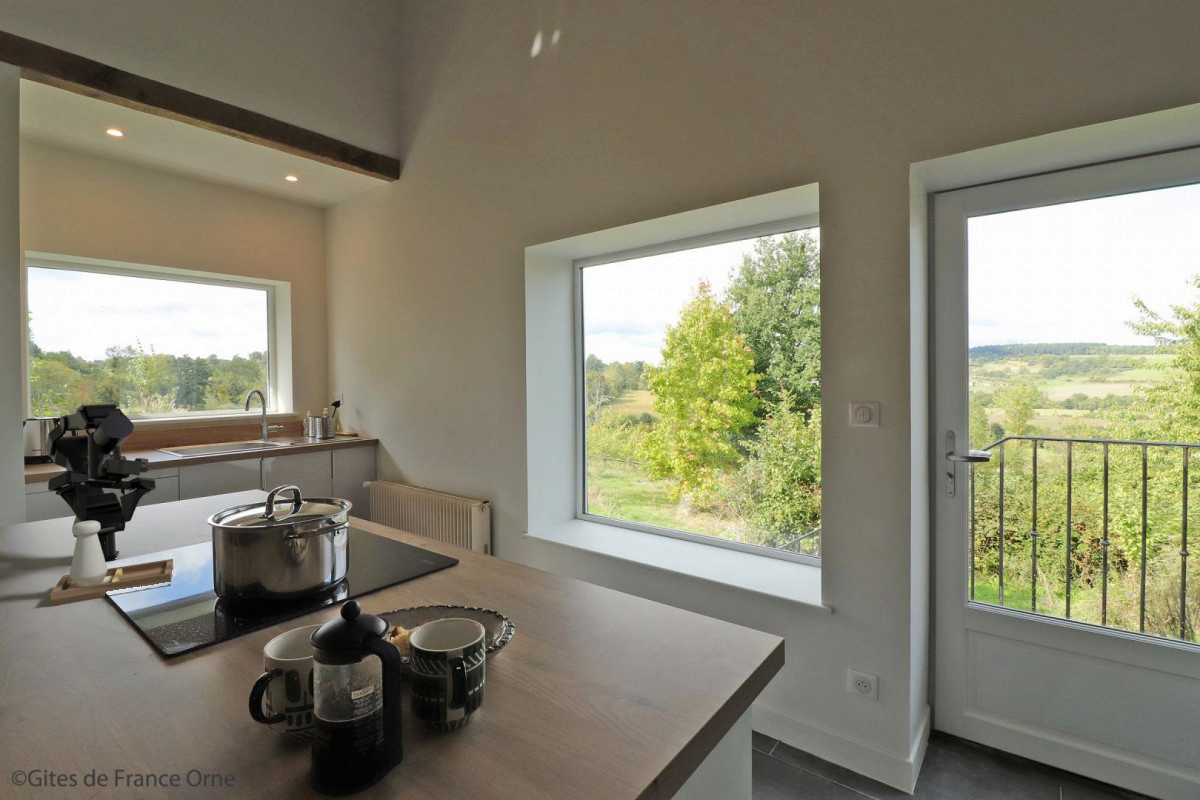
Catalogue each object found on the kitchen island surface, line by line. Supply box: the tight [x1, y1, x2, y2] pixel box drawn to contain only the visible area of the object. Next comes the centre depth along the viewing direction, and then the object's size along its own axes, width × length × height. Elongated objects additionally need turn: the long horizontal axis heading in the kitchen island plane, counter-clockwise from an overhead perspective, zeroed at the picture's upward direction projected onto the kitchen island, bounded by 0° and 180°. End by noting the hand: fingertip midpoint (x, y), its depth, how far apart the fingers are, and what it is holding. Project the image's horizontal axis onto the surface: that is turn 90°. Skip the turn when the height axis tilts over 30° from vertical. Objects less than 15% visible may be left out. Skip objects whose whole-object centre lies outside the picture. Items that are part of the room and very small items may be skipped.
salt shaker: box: [68, 521, 109, 588], centre depth 116 cm, size 6×6×13 cm
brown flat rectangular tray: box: [50, 558, 174, 607], centre depth 119 cm, size 12×18×2 cm, turn 125°
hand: (106, 521), depth 126 cm, fingers open, 9 cm apart
